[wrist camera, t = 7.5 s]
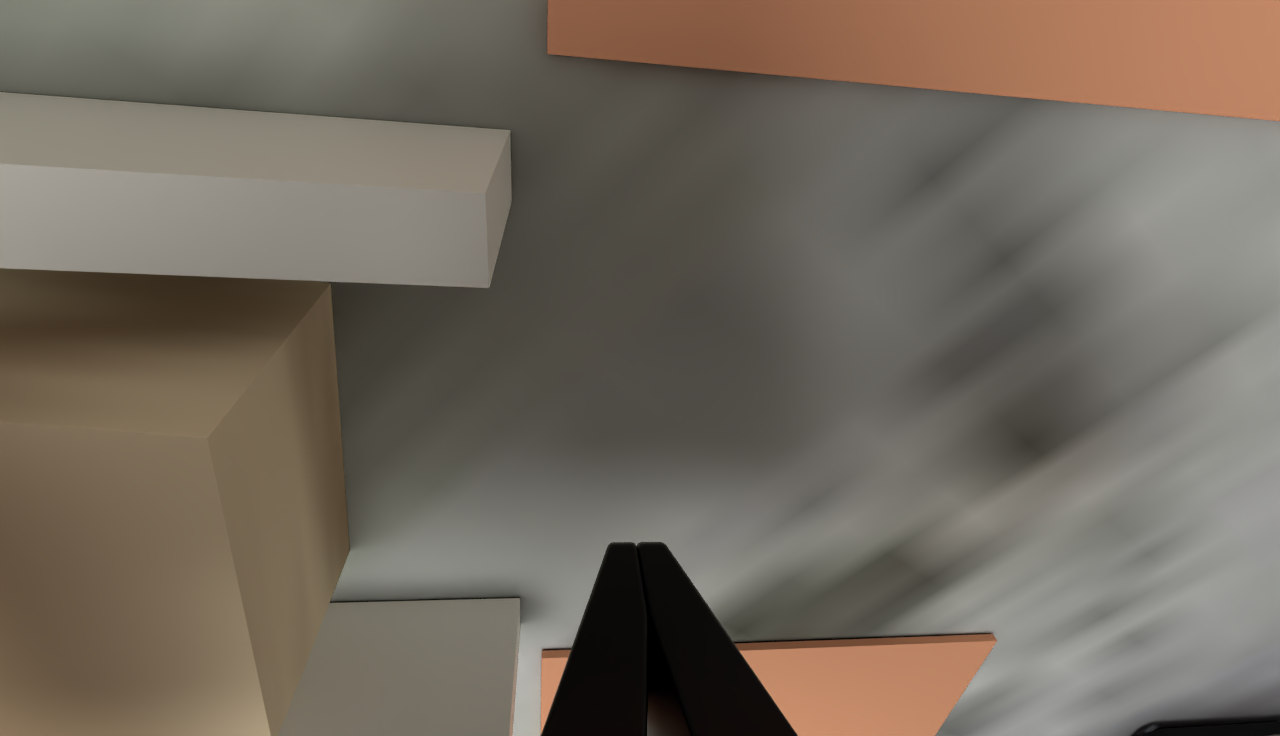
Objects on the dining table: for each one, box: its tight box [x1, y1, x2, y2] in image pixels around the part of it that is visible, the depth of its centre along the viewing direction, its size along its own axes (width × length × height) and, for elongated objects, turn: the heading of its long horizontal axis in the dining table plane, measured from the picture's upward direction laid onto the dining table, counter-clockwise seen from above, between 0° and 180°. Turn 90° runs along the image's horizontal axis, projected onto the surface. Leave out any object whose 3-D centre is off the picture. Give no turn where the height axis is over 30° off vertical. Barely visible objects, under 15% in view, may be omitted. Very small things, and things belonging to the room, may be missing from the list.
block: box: [0, 268, 350, 736], centre depth 9 cm, size 6×6×4 cm
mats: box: [541, 0, 1280, 736], centre depth 12 cm, size 12×29×1 cm, turn 175°
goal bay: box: [0, 92, 520, 736], centre depth 9 cm, size 12×11×3 cm
